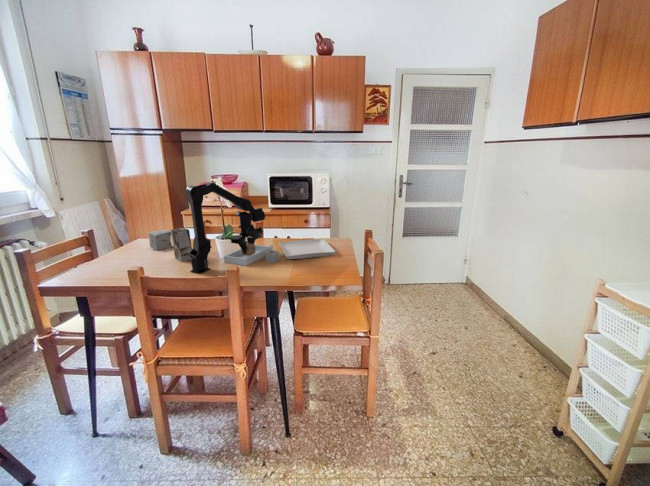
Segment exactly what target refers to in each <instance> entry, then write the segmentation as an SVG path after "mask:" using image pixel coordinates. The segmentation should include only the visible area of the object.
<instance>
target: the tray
mask: <svg viewBox="0 0 650 486" xmlns="http://www.w3.org/2000/svg"><path fill="white" fill-rule="evenodd" d="M268 251H270V246H266V245H258V244H255V254H252V255H250V256H247V255H242V250H241V248H239V249H237V250H235V251H231V252H230V253H228V254H225V255H223V262H224V263H226V264H230V265H236V266H243V267H248V266H250V265H251V264H254V263H256V262H257V261H260V260H261V259H264V258H265V253H266V252H268Z"/></svg>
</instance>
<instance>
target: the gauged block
mask: <svg viewBox="0 0 650 486" xmlns="http://www.w3.org/2000/svg"><path fill="white" fill-rule="evenodd" d="M269 247H270V251H268V252H266V253H265V257H264V258H265V263H270V264H276V263H277V262H279V261H280V251H279V250H274V244H270V245H269Z"/></svg>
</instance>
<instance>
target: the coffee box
mask: <svg viewBox="0 0 650 486" xmlns="http://www.w3.org/2000/svg"><path fill="white" fill-rule="evenodd" d="M169 231H170V232H171V235H170V238H171V243H172V247H173V248H172V249H173V251H174V259H175V258H176V259H175V260H177V261H179V262H187V261H191V260H192V259H193V258H191V257H190V256H189V253H190V251H191V250H192V249H193V245H192V241H191V240H192V239H191V235H190V229H187V228H184V227H177V228H174V229H170V230H169Z"/></svg>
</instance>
